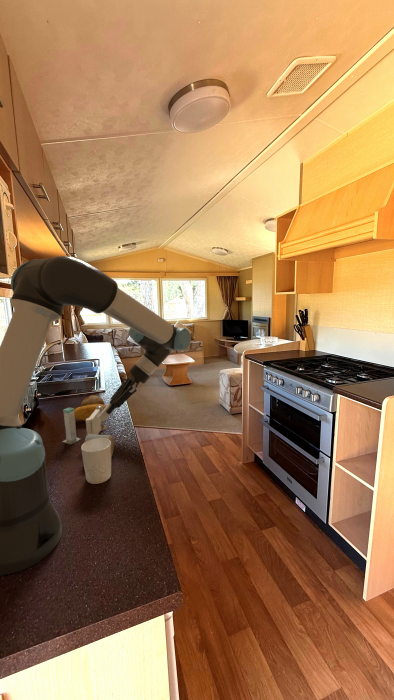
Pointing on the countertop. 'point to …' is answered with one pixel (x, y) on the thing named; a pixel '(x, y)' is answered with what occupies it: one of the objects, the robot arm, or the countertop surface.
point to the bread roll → (92, 400)
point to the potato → (85, 411)
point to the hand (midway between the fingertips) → (101, 418)
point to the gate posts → (71, 427)
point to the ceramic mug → (92, 436)
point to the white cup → (97, 460)
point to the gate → (93, 423)
